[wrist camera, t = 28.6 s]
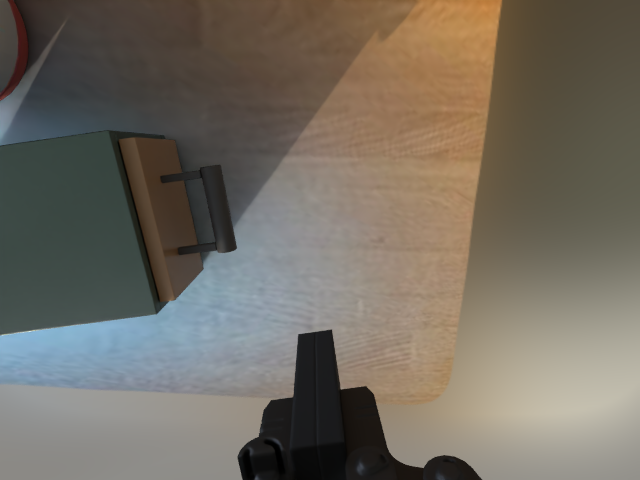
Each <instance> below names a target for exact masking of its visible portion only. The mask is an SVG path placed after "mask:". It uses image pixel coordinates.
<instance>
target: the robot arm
mask: <svg viewBox="0 0 640 480" xmlns="http://www.w3.org/2000/svg"><path fill="white" fill-rule="evenodd" d="M238 462H239V466H240V470H241V475H242V479H243V480H482V479H481V478H480V477H479V476H478V475H477V473H476V472H475V471H474V470H473V468H471V466H469V465H468V464H467V463H466V462H465V461H463V460H461V459H459V458H456V457H452V456H445V455H444V456H438V457H435V458H433V459H431V460H429V461H428V462H427V464H426V465H425V467H424V468H419V467H413V466H409V465H405V464H403V463H401V462H399V461H397V460H396V459H395V458H394V457H393V456H392V455H391V454H390V453H389V450H388V448H387V445H386V441H385V437H384V433H383V429H382V425H381V421H380V417H379V414H378V409H377V406H376V401H375V397H374V394H373V393H372V392H371V391H370V390H369V389H368V388H367V387H366V386H364V387H357V388H349V389H342V390H341V389H340V381H339V375H338V368H337V361H336V355H335V348H334V341H333V334H332V330H326V331H319V332H312V333H305V334H298V345H297V358H296V371H295V383H294V396H293V397H292V398H285V399H277V400H271V401H270V403H269V404H268V405H267V407H266V408H265V410H264V412H263V417H262V424H261V427H260V433H259V437H257V438H255V439H253V440H251V441H250V442H248V443H247V444H246V445H245V446H244V447H243V448H242V449H241V450H240V452H239V455H238Z"/></svg>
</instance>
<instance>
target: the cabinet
mask: <svg viewBox="0 0 640 480" xmlns="http://www.w3.org/2000/svg"><path fill="white" fill-rule="evenodd" d="M133 137H138V138H152V139H165V138H164V135H153V134H142V133H131V132H121V131H111V130H106V131H99V132H92V133H85V134H78V135H71V136H64V137H57V138H51V139H44V140H37V141H30V142H23V143H16V144H9V145H2V146H0V335H7V334H14V333H22V332H29V331H36V330H44V329H51V328H58V327H66V326H73V325H81V324H88V323H95V322H103V321H110V320H117V319H125V318H132V317H140V316H147V315H154V314H158V312H159V311H160V310H161V309H162V308H163V307H164V306H165V305H166V304H167V303H168V302H169V301H165V302H160V299H159V295H158V291H157V287H156V284H155V285H154V281H153V277H152V274H151V270H150V266H149V262H148V258H147V254H146V251H145V247H144V243H143V239H142V235H141V231H140V227H139V224H138V220H137V216H136V212H135V208H134V204H133V201H132V197H131V193H130V189H129V185H128V181H127V177H126V174H125V170H124V166H123V162H122V158H121V154H120V152H121V148H120V145H119V141H118V140H119V139H126V138H133Z"/></svg>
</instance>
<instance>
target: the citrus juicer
mask: <svg viewBox="0 0 640 480" xmlns="http://www.w3.org/2000/svg"><path fill="white" fill-rule="evenodd" d="M27 60H28V40H27V33H26V29H25V26H24V23H23V20H22V16H21V14H20V12H19V11H18V9H17V7H16V5H15V3H14V1H13V0H0V101H1V100H2V99H4V98H5V97H6V96H8V95H9V94H10V93H12V91H13V90H14V89H15V88H16V86H17V85H18V84H19V82H20V80H21V78H22V76H23V74H24V72H25V68H26V64H27Z"/></svg>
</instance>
